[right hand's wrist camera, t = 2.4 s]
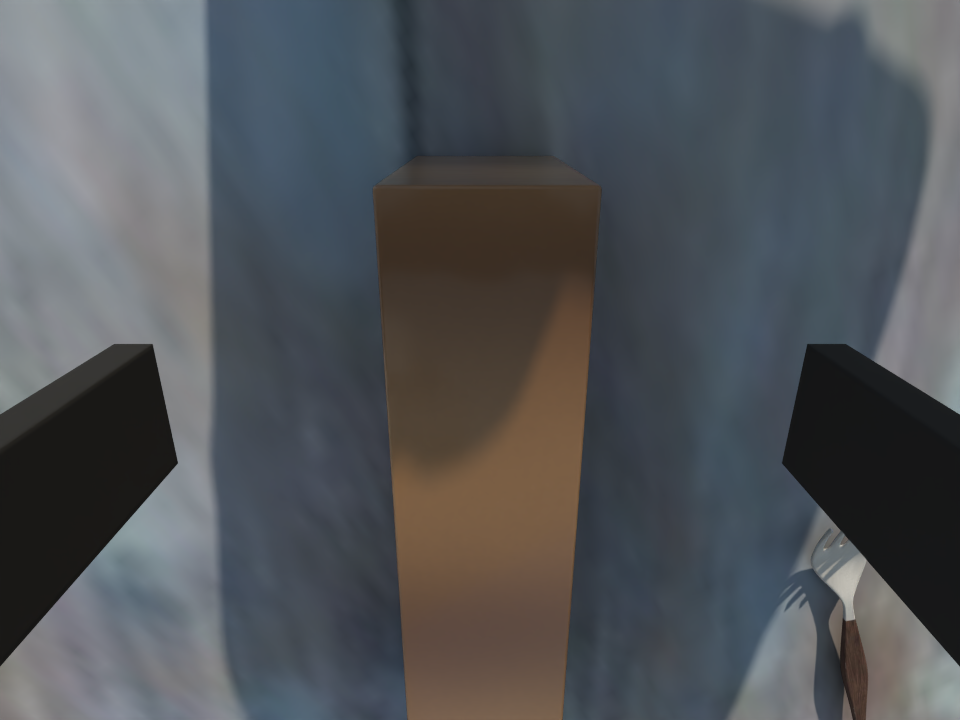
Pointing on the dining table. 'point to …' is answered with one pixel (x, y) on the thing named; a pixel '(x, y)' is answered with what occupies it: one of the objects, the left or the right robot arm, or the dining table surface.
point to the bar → (486, 422)
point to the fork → (845, 613)
